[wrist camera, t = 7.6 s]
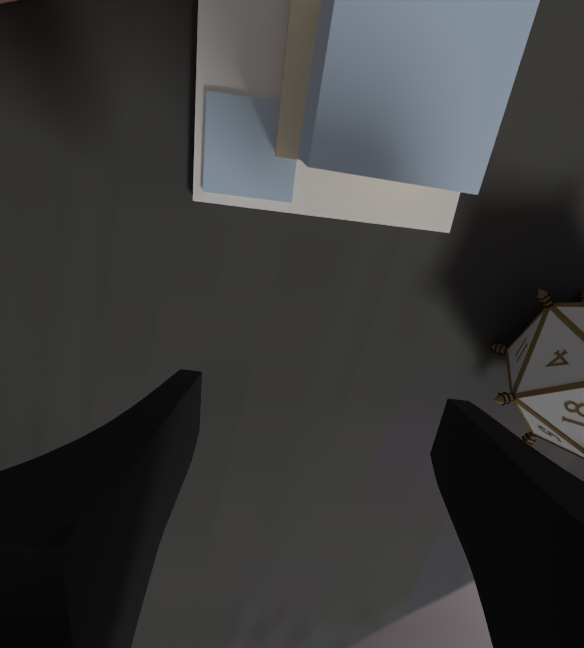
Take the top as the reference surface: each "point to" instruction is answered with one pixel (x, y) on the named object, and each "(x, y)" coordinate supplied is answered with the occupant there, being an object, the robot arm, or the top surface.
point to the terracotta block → (5, 0)
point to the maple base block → (296, 75)
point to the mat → (261, 132)
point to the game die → (549, 374)
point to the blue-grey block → (412, 87)
